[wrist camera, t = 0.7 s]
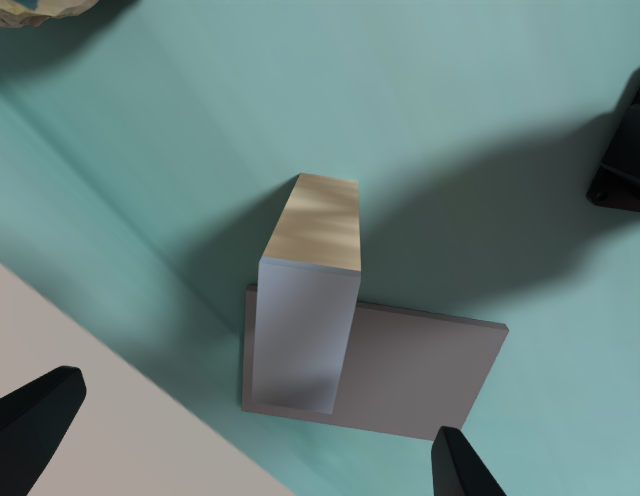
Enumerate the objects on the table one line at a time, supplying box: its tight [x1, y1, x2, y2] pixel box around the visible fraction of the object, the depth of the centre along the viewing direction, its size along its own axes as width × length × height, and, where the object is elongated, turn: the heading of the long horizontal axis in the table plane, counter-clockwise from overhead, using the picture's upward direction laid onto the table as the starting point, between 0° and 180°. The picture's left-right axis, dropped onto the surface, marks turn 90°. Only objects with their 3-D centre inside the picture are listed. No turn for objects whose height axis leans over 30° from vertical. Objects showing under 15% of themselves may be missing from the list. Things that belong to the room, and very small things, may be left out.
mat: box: [242, 285, 509, 441], centre depth 24 cm, size 16×11×1 cm
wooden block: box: [251, 173, 361, 414], centre depth 16 cm, size 3×6×9 cm, turn 173°
